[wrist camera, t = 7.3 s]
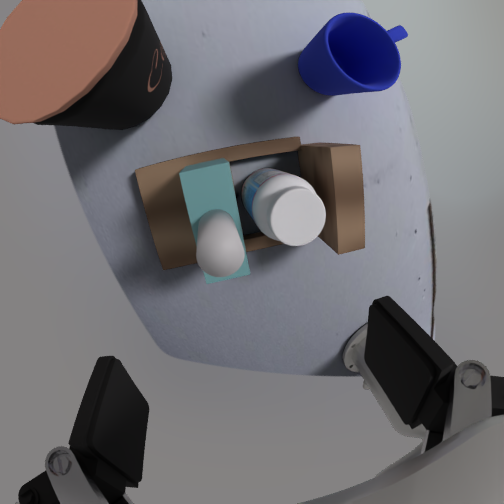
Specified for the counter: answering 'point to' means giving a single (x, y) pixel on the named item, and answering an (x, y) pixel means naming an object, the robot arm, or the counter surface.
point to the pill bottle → (283, 206)
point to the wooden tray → (176, 214)
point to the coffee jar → (81, 64)
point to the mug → (351, 56)
